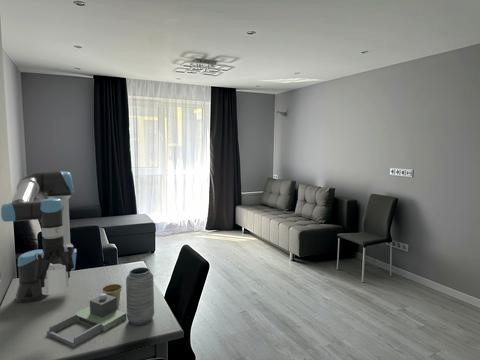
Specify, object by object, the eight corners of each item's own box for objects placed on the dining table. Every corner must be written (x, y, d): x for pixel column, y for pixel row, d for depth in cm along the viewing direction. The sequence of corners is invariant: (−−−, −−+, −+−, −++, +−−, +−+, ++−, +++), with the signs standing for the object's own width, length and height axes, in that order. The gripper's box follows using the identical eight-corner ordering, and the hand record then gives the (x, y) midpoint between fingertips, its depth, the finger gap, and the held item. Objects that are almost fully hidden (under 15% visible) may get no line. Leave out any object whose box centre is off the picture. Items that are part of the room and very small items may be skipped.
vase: (128, 329, 138) (126, 277, 136) (126, 316, 148) (124, 268, 146) (156, 323, 142) (155, 273, 140) (152, 311, 153) (151, 264, 151)
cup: (61, 282, 143) (60, 260, 142) (69, 290, 134) (68, 267, 133) (40, 287, 138) (38, 264, 137) (46, 296, 129) (45, 272, 128)
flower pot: (115, 310, 154) (115, 293, 153) (98, 308, 156) (97, 291, 155) (126, 301, 163) (125, 284, 163) (109, 299, 165) (109, 283, 164)
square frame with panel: (44, 333, 134) (43, 309, 133) (96, 308, 156) (95, 287, 155) (75, 347, 125) (74, 322, 124) (126, 318, 147) (125, 296, 146)
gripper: (30, 243, 122) (34, 302, 124) (82, 232, 140) (84, 283, 142) (20, 241, 126) (23, 297, 127) (71, 230, 144) (73, 279, 145)
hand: (55, 290), depth 135 cm, fingers closed on cup, 8 cm apart
